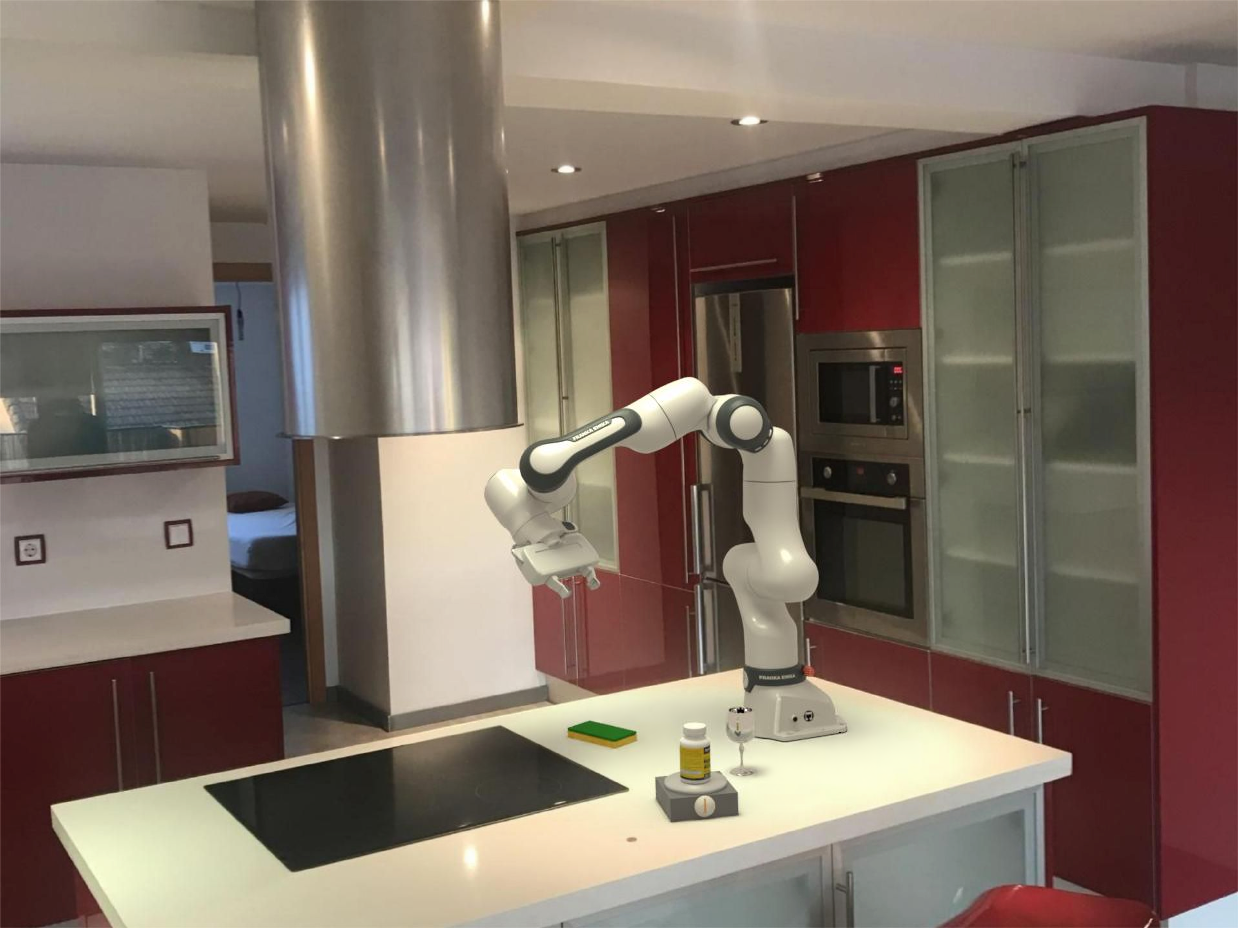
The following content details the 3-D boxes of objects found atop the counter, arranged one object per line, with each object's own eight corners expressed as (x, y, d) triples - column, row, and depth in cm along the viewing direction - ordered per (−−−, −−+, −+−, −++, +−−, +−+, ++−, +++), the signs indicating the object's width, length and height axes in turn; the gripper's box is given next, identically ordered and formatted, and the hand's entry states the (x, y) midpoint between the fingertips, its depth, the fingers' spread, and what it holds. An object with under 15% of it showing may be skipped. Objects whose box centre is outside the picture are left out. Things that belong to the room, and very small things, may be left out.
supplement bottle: (708, 785, 225) (707, 730, 224) (678, 784, 226) (676, 729, 225) (712, 775, 230) (711, 721, 230) (682, 774, 232) (681, 720, 231)
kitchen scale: (720, 792, 236) (719, 766, 235) (739, 815, 223) (738, 788, 223) (655, 798, 233) (655, 772, 233) (671, 822, 221) (670, 795, 221)
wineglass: (758, 776, 244) (757, 713, 243) (728, 777, 244) (726, 714, 243) (755, 766, 250) (754, 705, 249) (725, 767, 250) (724, 706, 249)
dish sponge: (614, 750, 264) (614, 739, 264) (566, 738, 273) (566, 727, 273) (638, 742, 269) (637, 730, 269) (590, 730, 278) (589, 719, 278)
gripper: (515, 535, 246) (558, 590, 241) (579, 521, 263) (620, 572, 258) (498, 556, 249) (540, 611, 244) (562, 542, 265) (603, 593, 261)
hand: (582, 591), depth 251 cm, fingers open, 8 cm apart
